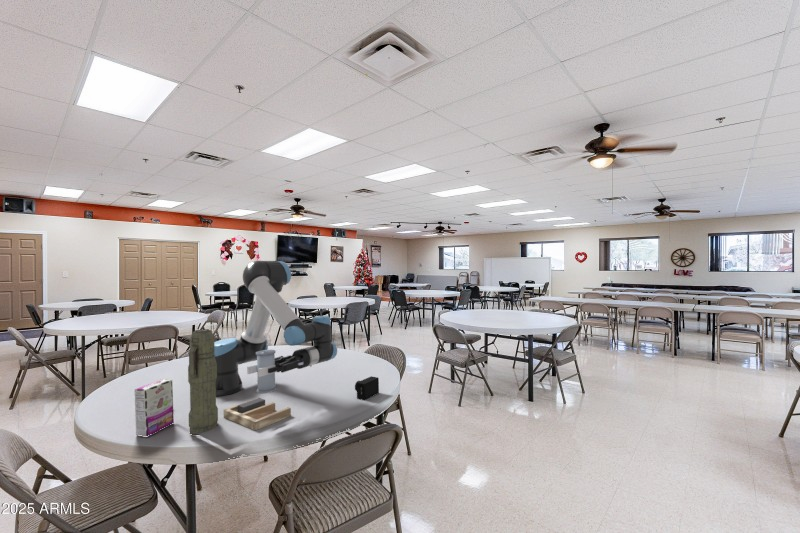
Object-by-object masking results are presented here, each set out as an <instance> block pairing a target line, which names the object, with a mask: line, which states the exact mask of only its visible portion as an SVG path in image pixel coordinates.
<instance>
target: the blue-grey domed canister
mask: <svg viewBox="0 0 800 533" xmlns="http://www.w3.org/2000/svg"><path fill="white" fill-rule="evenodd" d="M276 352H277V351H276V350H275V349H268V350H262V351H258V352H256V355H257V360H256V364H257V372H256V373H257V374H256V375H258V369H260V368H264V367H267V366H271V365H275V358H276V357H275V354H276ZM276 390H277V386H276V372H275V373H272V374H268V375H265V376H261V377H258V376H257V388H256V392H257V394H269V393H271V392H275V391H276Z"/></svg>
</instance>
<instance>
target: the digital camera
mask: <svg viewBox="0 0 800 533" xmlns="http://www.w3.org/2000/svg"><path fill="white" fill-rule="evenodd" d="M379 382H380V381H379V377H378V376H377V377H376V376H373V375H371V376H369V377H367V378H364V379H362V380H357V381H356V382H355V384H354V390H355V392H356V399H357V400H361V399H362V401H366V400H368V399H370V398H372V397H374V396H376V395H378V394H379V393H380V388H379V387H380V386H379V384H380V383H379ZM377 393H378V394H377ZM375 394H376V395H375ZM373 395H374V396H373Z"/></svg>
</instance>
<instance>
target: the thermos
mask: <svg viewBox="0 0 800 533" xmlns="http://www.w3.org/2000/svg"><path fill="white" fill-rule="evenodd" d="M214 342H215V336H214V332H213V331H212V330H211V329H210V328H209V329H207V328H204V329H196V330H194V331H192V333H191V335H190V338H189V351H188V365H187V382H188V384H189V400H190V401H189V404H190V407H189V408H190V410H189V412H188V427H189V432H190V433H189V435H190V434H192V435H200V433H204V432H208V431H210V430H212V429H215V428H216V427H217V426H218V421H219V411H218V410H219V408H218V406H217V396H216V378H217V363H216V360H215V355H214V351H215V346H214ZM192 435H191V436H192Z"/></svg>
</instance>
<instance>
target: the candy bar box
mask: <svg viewBox="0 0 800 533" xmlns="http://www.w3.org/2000/svg"><path fill="white" fill-rule="evenodd" d="M134 406H135V431H136V432H135V435H142V436H148V435H150V434H153V433H155V432H157V431H159V430H160V429H162V428H164V427H166V426H168V425H170V424H172V423H175V422H174V420H175V419H174V392H173V379H164V378H163V379H160V380H157V381H154V382H151V383H148V384H146V385H143V386H140V387H138V388H136V389H134ZM172 425H173V424H172ZM170 426H171V425H170ZM159 432H160V431H159ZM157 433H158V432H157ZM155 434H156V433H155Z"/></svg>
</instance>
